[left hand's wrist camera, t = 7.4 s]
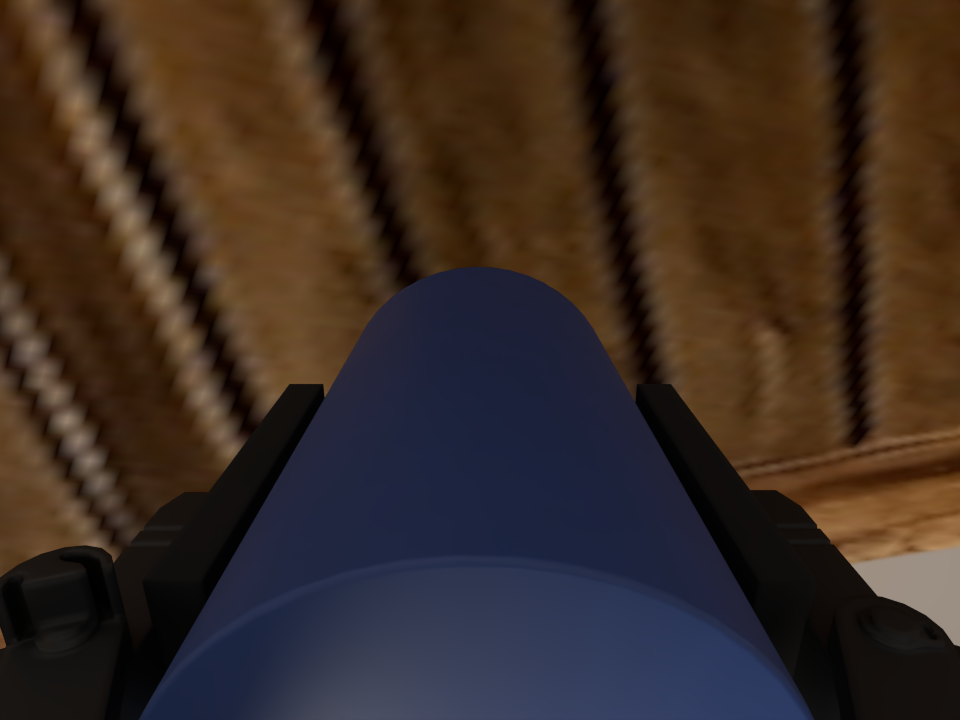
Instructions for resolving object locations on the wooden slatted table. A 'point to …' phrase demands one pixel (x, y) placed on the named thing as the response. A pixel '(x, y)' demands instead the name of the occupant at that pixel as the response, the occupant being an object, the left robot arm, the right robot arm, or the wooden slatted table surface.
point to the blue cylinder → (477, 543)
